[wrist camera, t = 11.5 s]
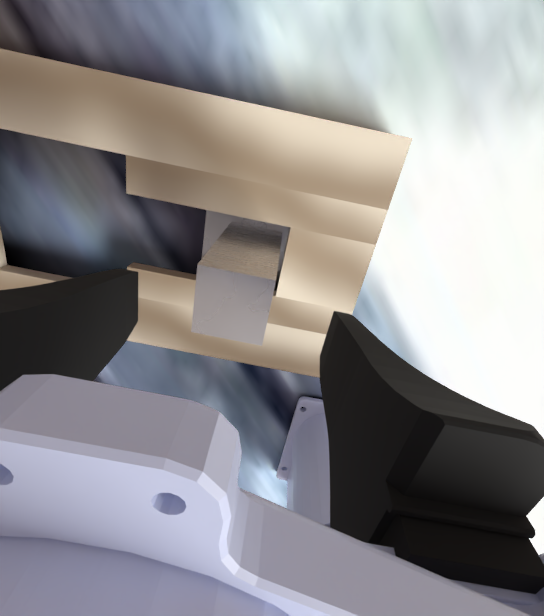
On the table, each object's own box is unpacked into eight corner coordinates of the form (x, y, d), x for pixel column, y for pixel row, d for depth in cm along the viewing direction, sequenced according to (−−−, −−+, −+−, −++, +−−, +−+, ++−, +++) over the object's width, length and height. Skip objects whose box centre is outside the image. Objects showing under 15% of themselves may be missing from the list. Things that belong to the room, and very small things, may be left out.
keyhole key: (291, 298, 22) (289, 380, 15) (202, 280, 22) (154, 354, 14) (313, 207, 19) (325, 250, 12) (212, 186, 19) (159, 216, 12)
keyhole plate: (325, 353, 24) (329, 379, 21) (-11, 288, 23) (-50, 306, 20) (394, 139, 17) (412, 138, 15) (-65, 38, 17) (-131, 19, 14)
